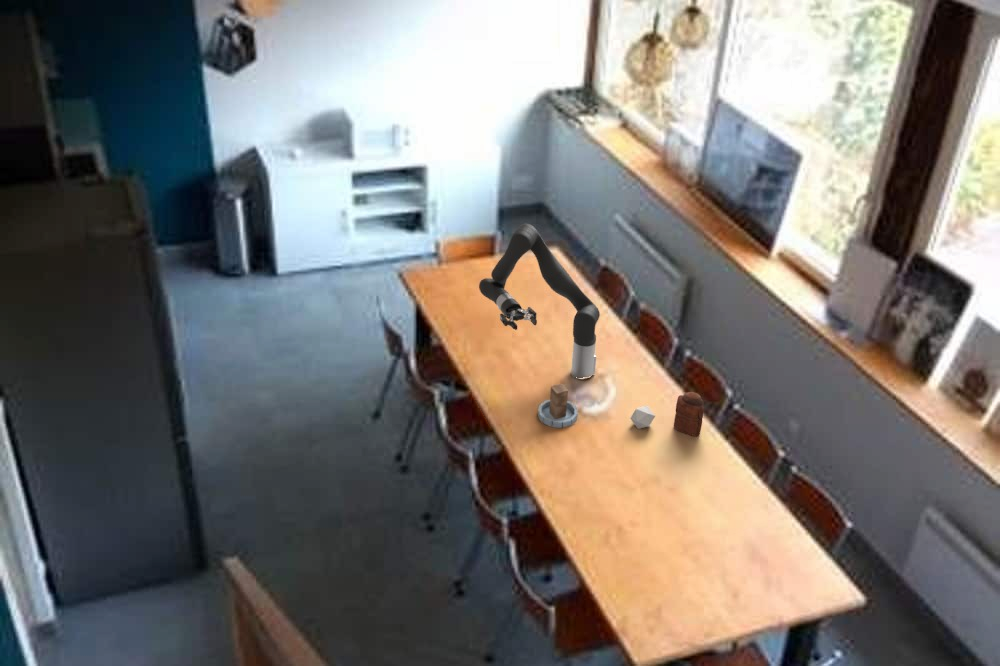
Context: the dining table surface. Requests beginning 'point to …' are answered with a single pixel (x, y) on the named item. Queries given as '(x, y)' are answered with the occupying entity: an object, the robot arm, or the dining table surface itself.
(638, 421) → the die
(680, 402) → the wooden figurine
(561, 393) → the walnut block
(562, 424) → the bowl
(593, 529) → the dining table surface
